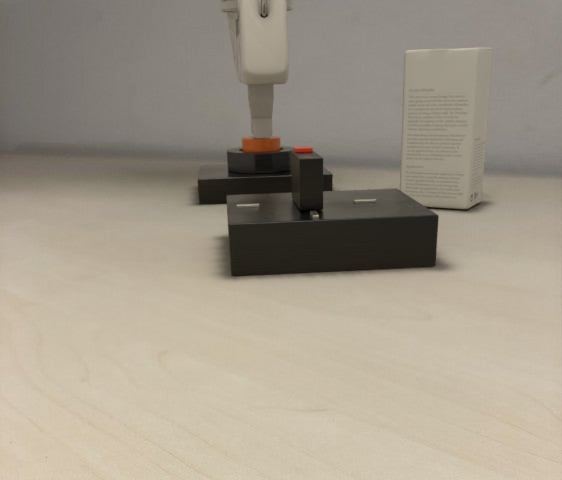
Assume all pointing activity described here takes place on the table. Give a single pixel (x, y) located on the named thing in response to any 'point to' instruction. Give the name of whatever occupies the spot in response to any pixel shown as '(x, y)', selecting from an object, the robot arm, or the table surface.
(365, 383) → the table surface
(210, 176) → the button block
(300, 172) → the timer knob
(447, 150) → the cosmetic box
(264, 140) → the button
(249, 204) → the panel
